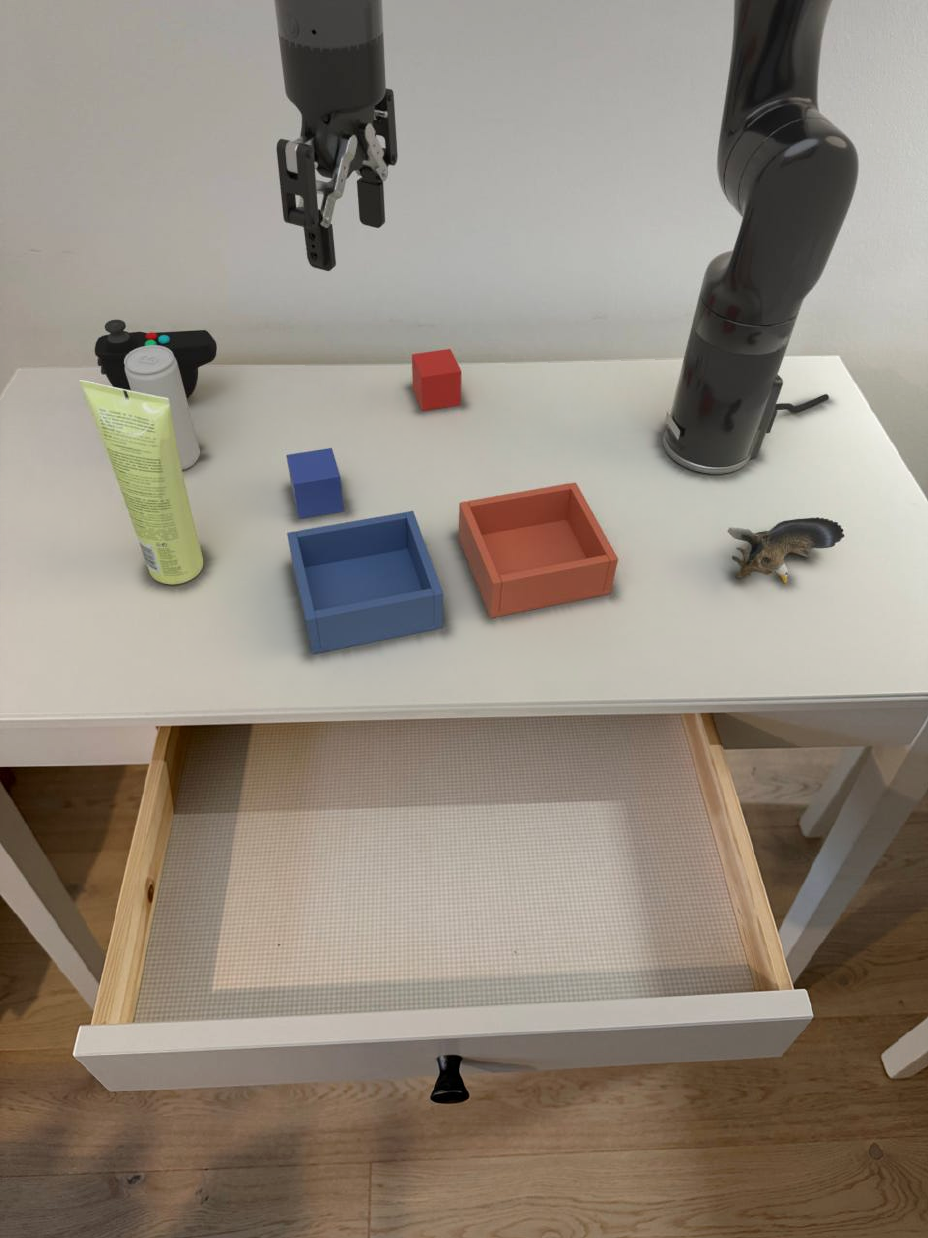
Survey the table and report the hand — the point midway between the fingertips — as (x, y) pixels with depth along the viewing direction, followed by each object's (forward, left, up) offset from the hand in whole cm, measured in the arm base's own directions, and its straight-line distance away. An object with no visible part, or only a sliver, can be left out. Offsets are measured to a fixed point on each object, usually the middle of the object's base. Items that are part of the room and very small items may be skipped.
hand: (348, 245), depth 75 cm
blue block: (+6, +5, -23) cm, 24 cm away
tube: (+20, +11, -23) cm, 33 cm away
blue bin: (+4, +19, -23) cm, 30 cm away
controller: (+19, -15, -23) cm, 33 cm away
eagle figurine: (-34, +25, -23) cm, 48 cm away
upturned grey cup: (+19, -5, -23) cm, 30 cm away
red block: (-10, -9, -23) cm, 26 cm away
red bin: (-12, +19, -23) cm, 32 cm away
